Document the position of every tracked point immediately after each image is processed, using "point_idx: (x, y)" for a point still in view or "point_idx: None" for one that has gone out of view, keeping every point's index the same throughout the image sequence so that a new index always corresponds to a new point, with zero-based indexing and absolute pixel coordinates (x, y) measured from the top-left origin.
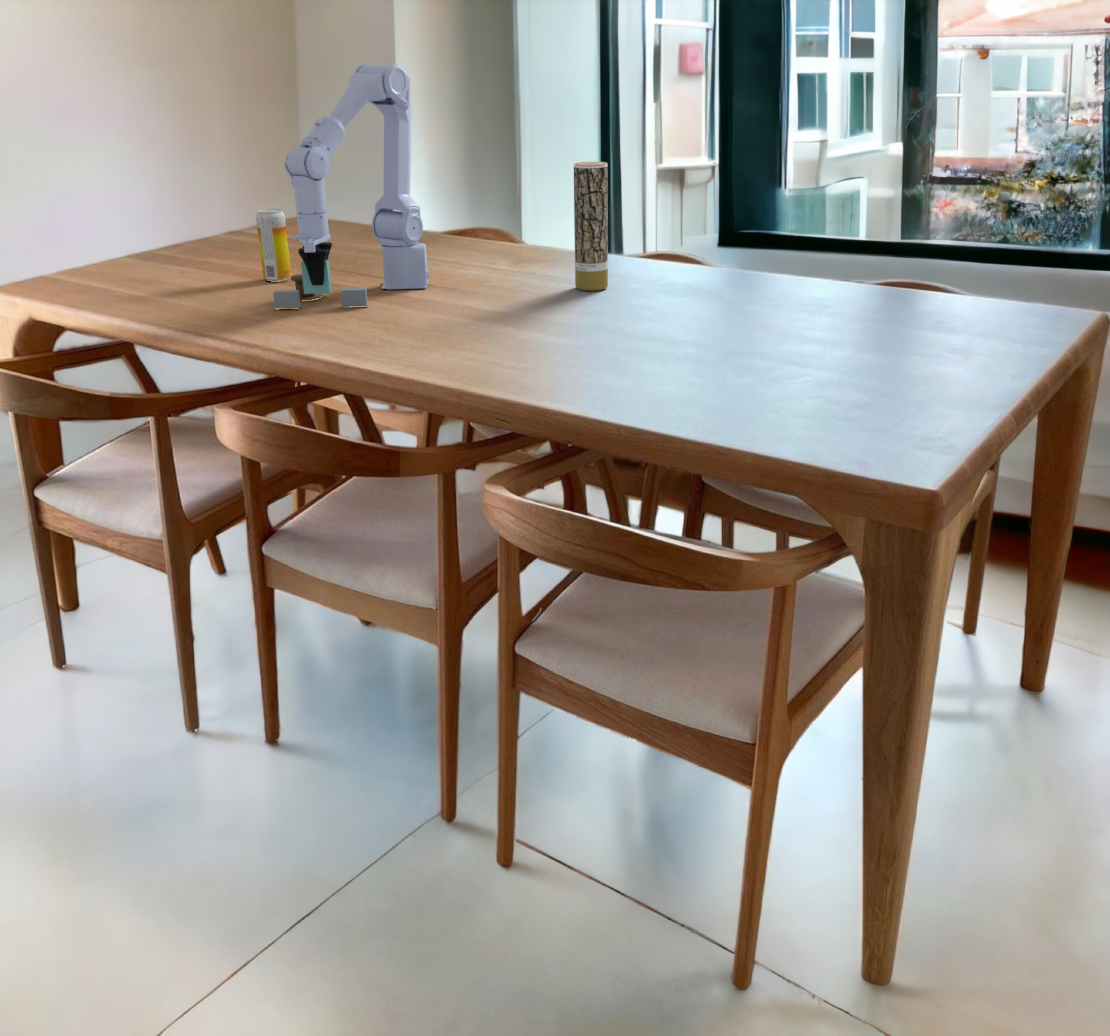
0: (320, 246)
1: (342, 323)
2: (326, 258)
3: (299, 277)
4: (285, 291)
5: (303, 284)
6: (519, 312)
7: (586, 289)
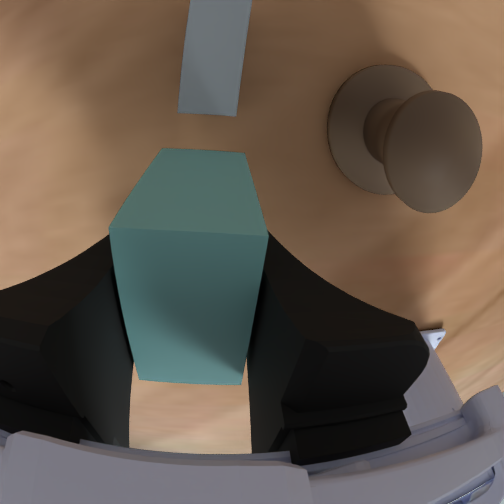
0: (263, 445)
1: (14, 267)
2: (249, 381)
3: (427, 134)
4: (209, 45)
5: (152, 164)
6: None
7: None
